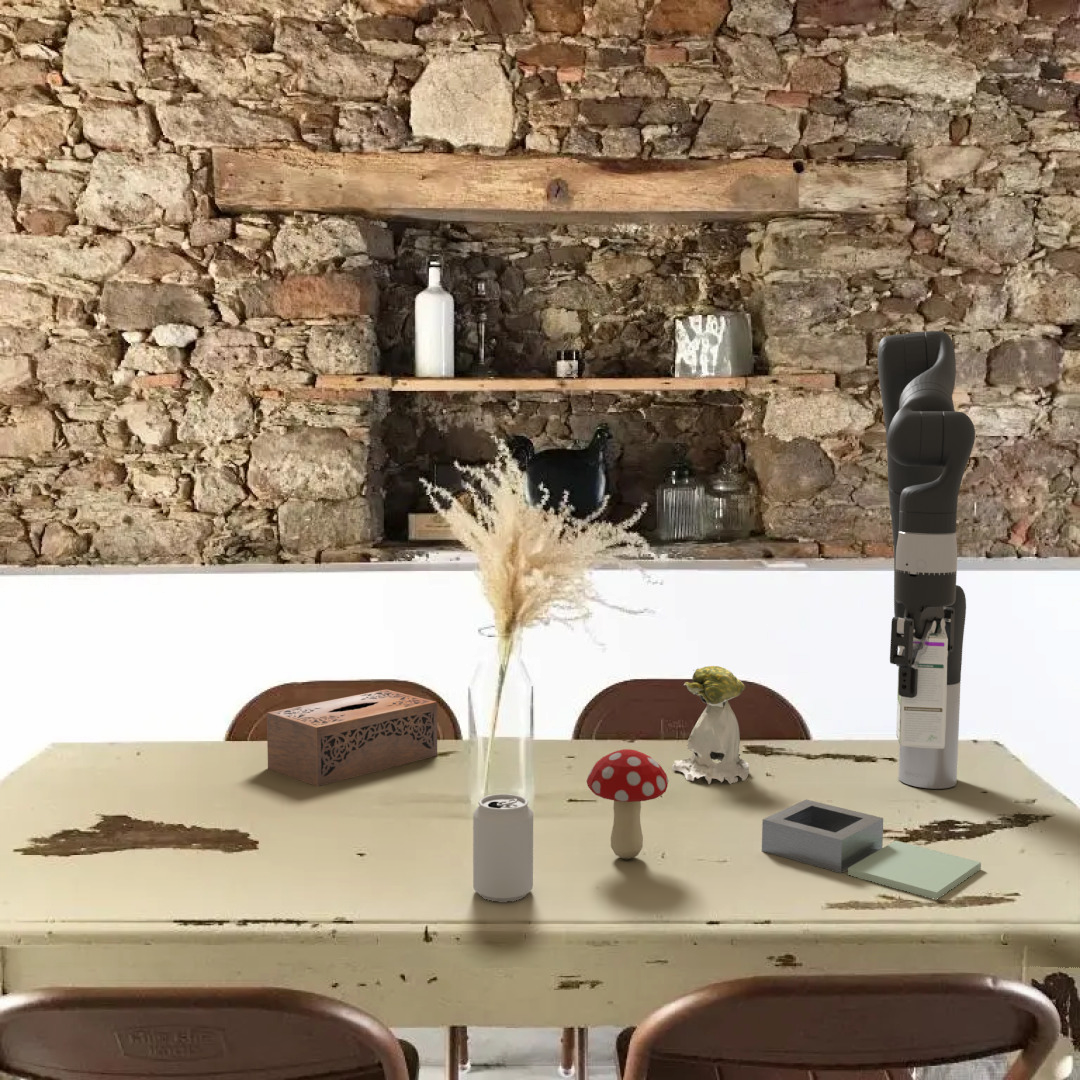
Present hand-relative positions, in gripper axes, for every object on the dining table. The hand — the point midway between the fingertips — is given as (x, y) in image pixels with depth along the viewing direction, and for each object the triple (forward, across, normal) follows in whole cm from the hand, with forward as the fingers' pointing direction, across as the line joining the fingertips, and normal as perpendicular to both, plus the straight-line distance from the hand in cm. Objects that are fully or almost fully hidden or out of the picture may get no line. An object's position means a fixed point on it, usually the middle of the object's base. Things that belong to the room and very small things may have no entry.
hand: (921, 691), depth 152 cm
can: (+24, +42, -35) cm, 60 cm away
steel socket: (+24, +1, -13) cm, 28 cm away
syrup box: (+7, 0, 0) cm, 7 cm away
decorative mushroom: (+25, +22, -31) cm, 45 cm away
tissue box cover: (+25, +18, -94) cm, 99 cm away
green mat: (+24, 0, 0) cm, 24 cm away
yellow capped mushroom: (+25, -19, -45) cm, 55 cm away
